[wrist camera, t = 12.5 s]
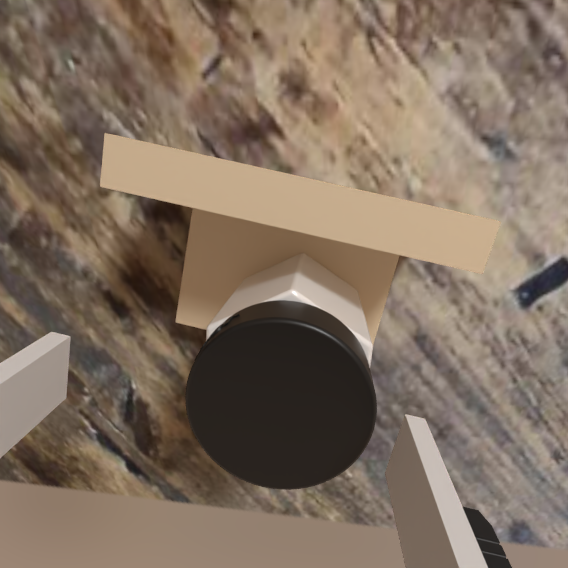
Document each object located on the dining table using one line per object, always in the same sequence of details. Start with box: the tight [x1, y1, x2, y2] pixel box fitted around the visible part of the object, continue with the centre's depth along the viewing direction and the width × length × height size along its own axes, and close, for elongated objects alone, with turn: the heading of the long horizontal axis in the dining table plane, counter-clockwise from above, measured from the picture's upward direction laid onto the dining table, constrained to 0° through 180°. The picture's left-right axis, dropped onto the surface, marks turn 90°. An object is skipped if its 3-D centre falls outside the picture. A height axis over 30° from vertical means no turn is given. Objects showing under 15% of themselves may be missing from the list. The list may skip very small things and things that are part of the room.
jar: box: [186, 253, 377, 490], centre depth 23 cm, size 9×8×12 cm
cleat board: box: [100, 133, 501, 344], centre depth 25 cm, size 18×12×11 cm, turn 78°
